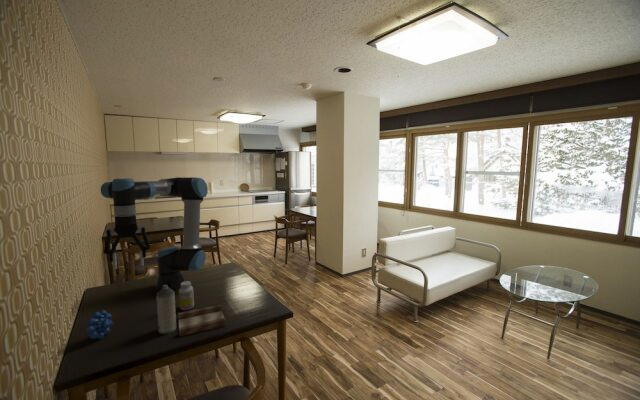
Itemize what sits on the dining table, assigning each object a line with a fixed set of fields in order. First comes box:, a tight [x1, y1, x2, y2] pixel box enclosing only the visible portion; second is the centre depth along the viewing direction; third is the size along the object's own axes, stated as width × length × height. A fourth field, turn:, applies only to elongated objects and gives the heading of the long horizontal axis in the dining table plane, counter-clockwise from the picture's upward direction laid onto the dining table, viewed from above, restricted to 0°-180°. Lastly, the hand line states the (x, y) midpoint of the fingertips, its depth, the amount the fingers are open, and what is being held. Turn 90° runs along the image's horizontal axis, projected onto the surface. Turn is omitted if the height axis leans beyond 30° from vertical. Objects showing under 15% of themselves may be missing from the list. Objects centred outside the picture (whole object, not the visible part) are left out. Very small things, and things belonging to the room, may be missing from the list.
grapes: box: [85, 309, 114, 340], centre depth 118 cm, size 12×7×12 cm, turn 175°
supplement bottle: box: [178, 280, 195, 311], centre depth 144 cm, size 7×7×13 cm
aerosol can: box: [156, 285, 177, 335], centre depth 124 cm, size 7×7×20 cm
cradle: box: [177, 304, 228, 337], centre depth 131 cm, size 19×16×3 cm
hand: (129, 267), depth 123 cm, fingers open, 9 cm apart
